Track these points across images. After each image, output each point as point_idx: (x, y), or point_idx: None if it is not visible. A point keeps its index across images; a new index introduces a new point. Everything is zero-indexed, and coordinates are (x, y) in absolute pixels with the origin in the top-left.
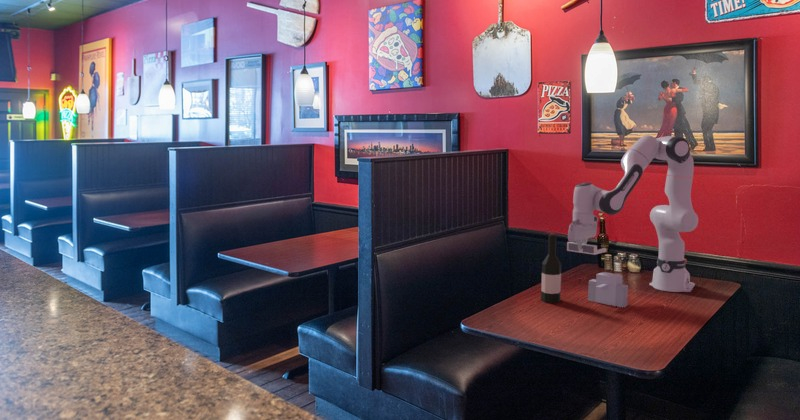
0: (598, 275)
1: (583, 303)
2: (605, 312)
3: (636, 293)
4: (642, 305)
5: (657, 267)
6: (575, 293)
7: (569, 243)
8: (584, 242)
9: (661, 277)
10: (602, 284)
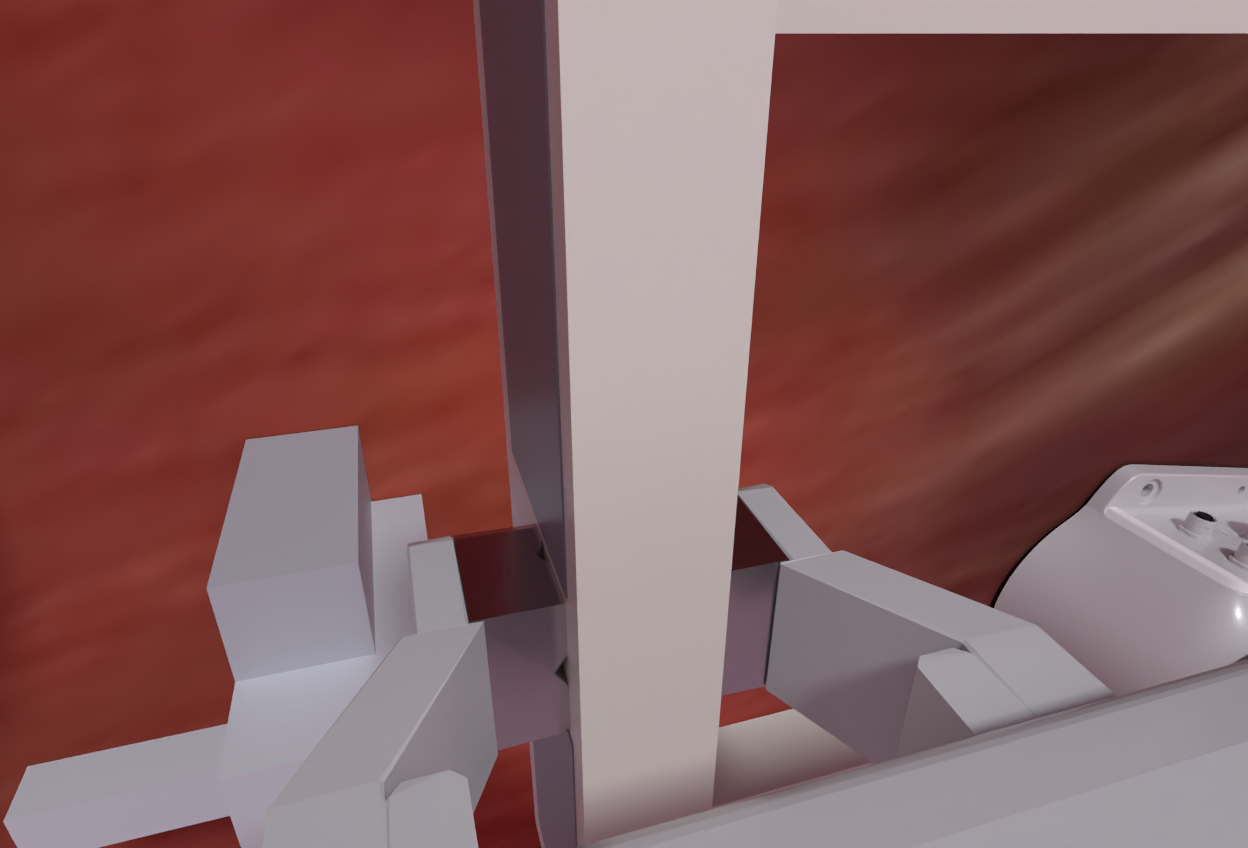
0: (229, 791)
1: (93, 475)
2: (34, 760)
3: (827, 546)
4: (521, 756)
5: (1223, 647)
6: (403, 157)
7: (536, 43)
8: (848, 687)
9: (1094, 656)
10: (194, 789)
